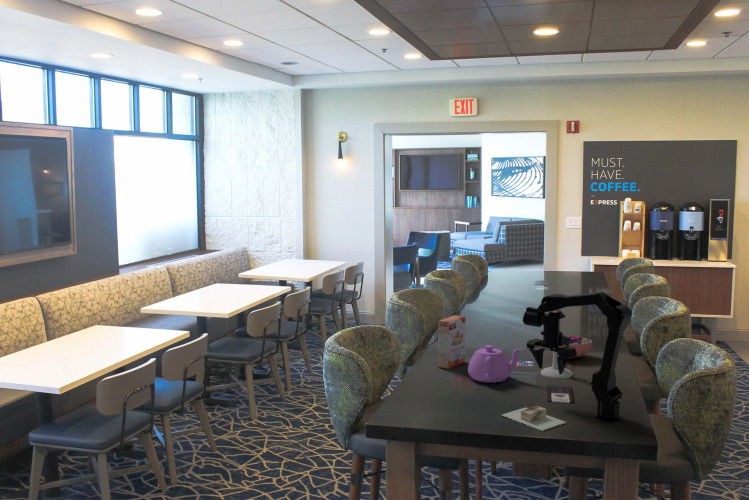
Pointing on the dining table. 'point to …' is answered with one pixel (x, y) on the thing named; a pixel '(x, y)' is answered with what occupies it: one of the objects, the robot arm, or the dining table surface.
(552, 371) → the candlestick
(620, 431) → the dining table surface
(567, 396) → the chocolate bar
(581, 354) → the cell model
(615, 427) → the dining table surface
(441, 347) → the cracker box
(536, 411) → the grooved tan block
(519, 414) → the sage mat
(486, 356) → the teapot
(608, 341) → the robot arm
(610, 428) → the dining table surface
